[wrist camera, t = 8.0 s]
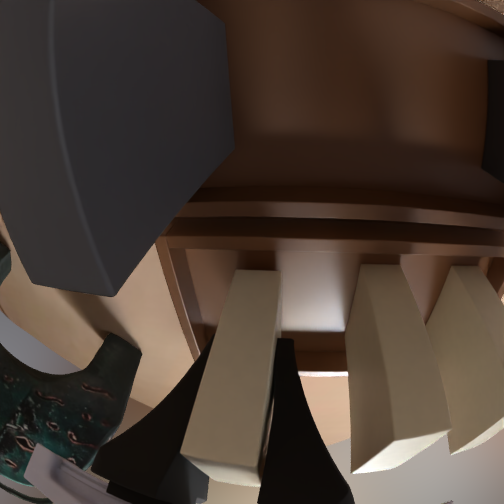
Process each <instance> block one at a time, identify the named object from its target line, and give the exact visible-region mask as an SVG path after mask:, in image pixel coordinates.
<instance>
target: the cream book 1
mask: <svg viewBox="0 0 504 504" xmlns="http://www.w3.org/2000/svg"><path fill="white" fill-rule="evenodd" d="M281 307H282V273H281V271H264V270H235V273H234V276H233V280H232V283H231V286H230V289H229V292H228V295H227V299H226V302H225V305H224V308H223V311H222V315H221V318H220V321H219V324H218V328H217V331H216V334H215V337H214V341H213V344H212V347H211V350H210V354H209V357H208V360H207V363H206V367H205V370H204V373H203V377H202V380H201V383H200V386H199V390H198V393H197V396H196V400H195V403H194V406H193V410H192V413H191V417H190V420H189V423H188V427H187V430H186V433H185V437H184V440H183V444H182V447H181V450H180V454H182V455H183V456H184V457H185V458H186V459H188V460H189V461H190V462H191V463H192V464H194V465H195V466H196V467H197V468H199V469H200V470H201V471H203V472H204V473H205V474H206V475H208V476H209V477H210V478H212V479H213V480H215V481H219V482H224V483H231V484H238V485H245V486H254V487H260V486H261V481H262V476H263V470H264V465H265V459H266V453H267V447H268V441H269V434H270V428H271V421H272V414H273V404H274V359H275V352H276V345H277V338H281Z"/></svg>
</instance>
